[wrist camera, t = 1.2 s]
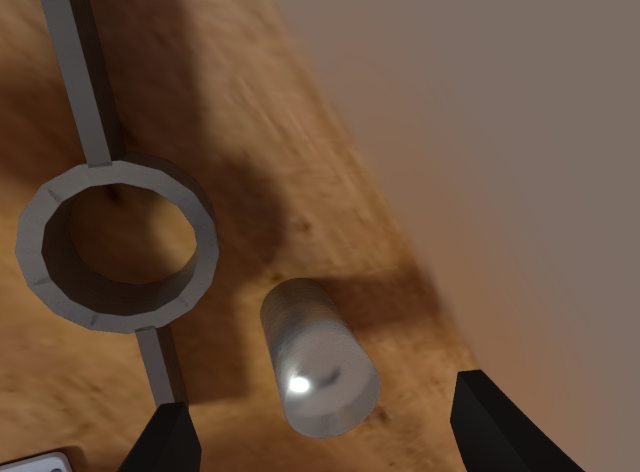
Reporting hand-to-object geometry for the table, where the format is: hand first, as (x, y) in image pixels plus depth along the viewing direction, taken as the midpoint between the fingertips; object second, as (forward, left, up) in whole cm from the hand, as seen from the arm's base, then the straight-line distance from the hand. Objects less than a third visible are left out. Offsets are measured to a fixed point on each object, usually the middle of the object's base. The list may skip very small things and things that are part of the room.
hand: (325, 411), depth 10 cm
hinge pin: (-3, -1, -11) cm, 11 cm away
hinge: (+3, +6, -11) cm, 13 cm away
